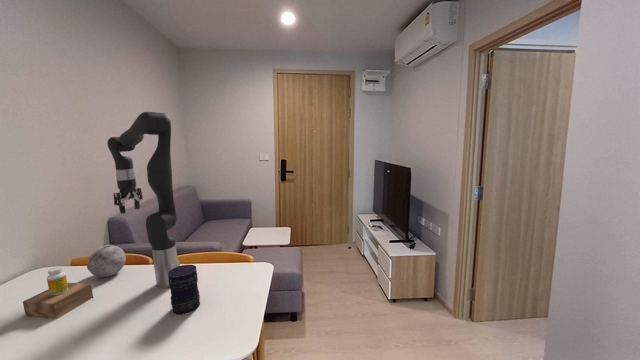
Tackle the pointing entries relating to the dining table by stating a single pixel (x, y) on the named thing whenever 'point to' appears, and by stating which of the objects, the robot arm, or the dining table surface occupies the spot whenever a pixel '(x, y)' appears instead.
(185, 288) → the storage jar
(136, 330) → the dining table surface
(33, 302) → the walnut block
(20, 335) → the dining table surface
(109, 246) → the decorative orb
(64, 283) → the supplement bottle
